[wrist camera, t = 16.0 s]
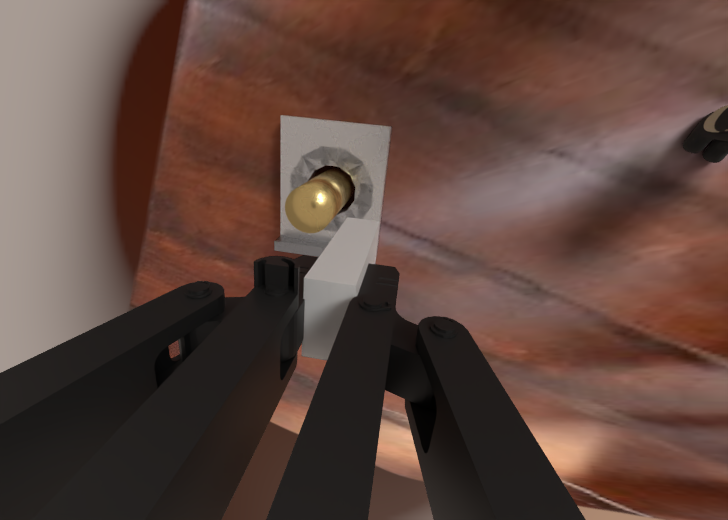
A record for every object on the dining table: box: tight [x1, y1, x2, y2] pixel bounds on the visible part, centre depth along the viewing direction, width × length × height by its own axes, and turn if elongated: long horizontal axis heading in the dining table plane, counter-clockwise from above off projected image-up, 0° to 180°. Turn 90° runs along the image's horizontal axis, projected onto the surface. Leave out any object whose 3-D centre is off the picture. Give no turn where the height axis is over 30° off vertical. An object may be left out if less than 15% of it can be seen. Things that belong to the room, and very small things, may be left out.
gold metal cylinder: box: [285, 169, 353, 233], centre depth 37 cm, size 4×4×11 cm
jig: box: [274, 115, 392, 257], centre depth 41 cm, size 15×12×4 cm
